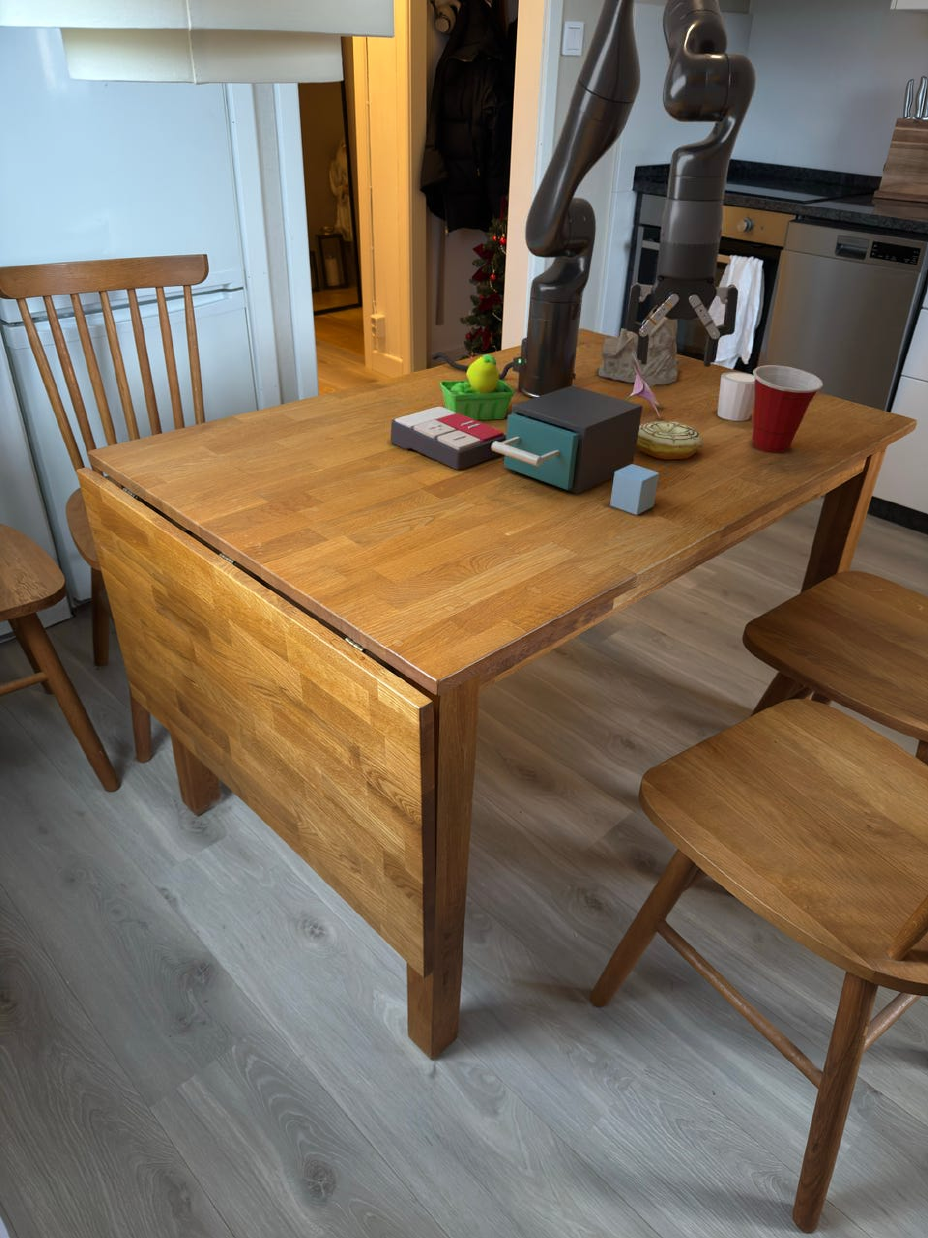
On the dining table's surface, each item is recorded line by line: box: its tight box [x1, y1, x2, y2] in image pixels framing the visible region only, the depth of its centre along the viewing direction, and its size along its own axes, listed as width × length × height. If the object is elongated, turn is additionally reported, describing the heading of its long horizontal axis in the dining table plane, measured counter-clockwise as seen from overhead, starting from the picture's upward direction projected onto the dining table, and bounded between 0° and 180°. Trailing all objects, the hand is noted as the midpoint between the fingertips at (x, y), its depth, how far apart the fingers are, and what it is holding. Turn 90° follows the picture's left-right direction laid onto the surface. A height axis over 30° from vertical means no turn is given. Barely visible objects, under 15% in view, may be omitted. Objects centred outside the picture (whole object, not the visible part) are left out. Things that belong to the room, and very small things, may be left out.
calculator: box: [390, 406, 506, 471], centre depth 139 cm, size 11×4×15 cm
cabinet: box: [507, 384, 643, 495], centre depth 133 cm, size 15×13×10 cm
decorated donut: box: [636, 420, 704, 461], centre depth 143 cm, size 10×11×4 cm
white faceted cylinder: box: [717, 371, 755, 422], centre depth 159 cm, size 7×7×7 cm
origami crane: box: [624, 353, 661, 418], centre depth 158 cm, size 12×12×10 cm
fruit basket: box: [439, 353, 516, 421], centre depth 151 cm, size 11×9×11 cm
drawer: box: [492, 412, 580, 491], centre depth 130 cm, size 19×12×8 cm, turn 138°
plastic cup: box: [752, 364, 824, 453], centre depth 145 cm, size 11×11×12 cm
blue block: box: [609, 463, 660, 516], centre depth 123 cm, size 4×4×5 cm
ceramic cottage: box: [598, 316, 680, 386], centre depth 178 cm, size 16×16×15 cm
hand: (674, 364), depth 123 cm, fingers open, 8 cm apart
